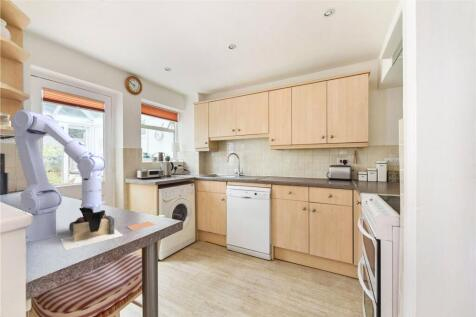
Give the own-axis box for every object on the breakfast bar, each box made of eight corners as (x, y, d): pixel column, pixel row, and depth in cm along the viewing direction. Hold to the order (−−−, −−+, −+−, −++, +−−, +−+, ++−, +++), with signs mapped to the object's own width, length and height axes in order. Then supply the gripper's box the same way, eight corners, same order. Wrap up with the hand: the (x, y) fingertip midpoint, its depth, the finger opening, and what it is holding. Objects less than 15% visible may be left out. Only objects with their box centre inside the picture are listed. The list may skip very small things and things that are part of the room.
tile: (131, 230, 78) (155, 224, 85) (126, 226, 82) (148, 221, 89) (131, 233, 78) (155, 227, 85) (126, 229, 82) (148, 224, 89)
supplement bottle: (108, 227, 83) (77, 237, 72) (98, 224, 85) (67, 234, 75) (108, 212, 83) (77, 221, 72) (98, 210, 85) (67, 218, 75)
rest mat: (65, 251, 62) (65, 249, 62) (60, 240, 70) (60, 238, 70) (123, 236, 73) (123, 235, 73) (113, 228, 81) (113, 227, 81)
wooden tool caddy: (75, 243, 66) (75, 226, 66) (72, 237, 71) (72, 222, 71) (114, 233, 75) (114, 218, 75) (109, 229, 79) (109, 215, 79)
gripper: (110, 191, 70) (110, 231, 70) (99, 187, 80) (99, 221, 80) (85, 194, 65) (85, 236, 65) (77, 189, 75) (77, 226, 75)
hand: (91, 228), depth 72 cm, fingers open, 7 cm apart
